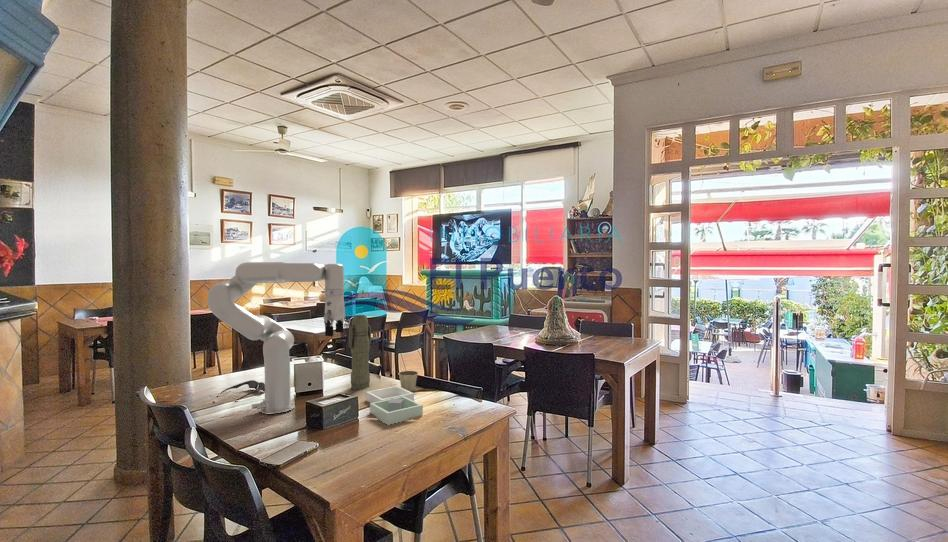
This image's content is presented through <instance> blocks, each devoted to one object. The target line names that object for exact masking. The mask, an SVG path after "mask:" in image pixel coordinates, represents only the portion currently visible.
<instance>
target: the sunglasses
mask: <svg viewBox="0 0 948 542" xmlns="http://www.w3.org/2000/svg"><path fill="white" fill-rule="evenodd" d="M245 385H247V386H248V389H249V388H255V389H256V390H251V392H248V393H246V394H244V395H242V396H240V397H239V398H237V399H236V400H239V399H240V400H241V399H243V398H246V397H247V396H250V395H253V394H258V393H259V392H260V390H263V391H264V392H265V382H261V381H260V382H259V381H257V380H254V379H252V380H246V381H244V382H240V383H238V384H235V385H232V386H230V387H227V388H226V389H224V390H222V391H221V392H220V393H219V394H221V395H222V394H223V393H225V392H226V391H229V390H233V389H238V388H240V387H242V386H245ZM240 400H239V401H240Z"/></svg>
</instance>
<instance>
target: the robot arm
mask: <svg viewBox="0 0 948 542" xmlns="http://www.w3.org/2000/svg"><path fill="white" fill-rule="evenodd" d="M234 274H235V275H234V276H232V278H230V279H229V280H228V281H222V282H221V281H220V282H217V283H215V284H214V285H212V286H211V287H210V288H209V290H208V293H207V296H206V297H207V298H206V300H207V306H208V308H209V310H210V312H211V313H212V314H213V315H214V316H215V317H216V318H217V319H219V320H220V321H222V322H223V323H225V324H226V325H228V326H229V327H231V328H232V329H234V330H235V332H238V333H240V335H242V336H243V337H245V338H246V339H248V340H251V341H258V340H260V341H262V342H263V344H262V354H263V362H264V363H263V364H264V384H265V391H264V399H262V401H261V402H258V403H257V402H256V403H251V409H252V410H254V409H256V410H260V413H261V412H263V413H280V412H284V411H287V410H290V409H292V408H294V407H295V404H294V403H292V402H291V359H290V357H291V356H290V349H292V347H293V346H294V344H295V337H294V334H293V333H292V332H291V331H289V329H287V328H285V326H283V325H281V324H280V323H278V322H277V321H275V320H273V319H272V318H271V317H269V316H267V315H264V314H263V315H262V314H258V315H255V314H253V313H251V312H250V311H249V310H247V309H246V308H244V307H243V306H241V305H239V304H237V303H236V302H235V301H238V300H240V299H241V298H242V297H243V296H244V295H245V294H247V293H248V292H249V291H250V290H251V289H253V288H254V287H255V286H256V285H257V284H282V283H306V282H307V283H315V282H319V281H324V298H325V300H324V301H325V303H324V315H323V323H324V331H325V332H324V334H325V335H324V336H326V337H333V336H334V325H333V324H334V323H335V333H344V321H345V320H344V319H346V307H345V306H346V305H345V298H344V297H345V295H344V293H345V290H344V288H345V287H344V286H345V285H344V284H345V283H344V282H345V281H344V280H345V279H344V278H345V277H344V276H345V275H344V265H343V264H341V263H327V264H325V263H319V262H318V263H317V262H315V263H314V262H302V263H300V262H299V263H298V262H297V263H296V262H295V263H294V262H281V261H267V262H266V261H265V262H263V261H259V262H255V261H249V262H243V263H240V264H238V266H237V267H236V269H235V273H234ZM334 321H335V322H334ZM294 409H295V408H294ZM263 413H262V414H263Z"/></svg>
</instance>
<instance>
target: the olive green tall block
mask: <svg viewBox="0 0 948 542" xmlns="http://www.w3.org/2000/svg"><path fill="white" fill-rule="evenodd" d="M371 344H372V326H371V325H370V324H369V320H368V317H367V315H365V314H355V315H353V317H352V321H351V325H350V326H349V328H348V348H350V353H351V373H350V389H351V390H352V389H354V390H353V391H359V390H361V389H367V388H370V387H371V386H370V381H371V378H370V377H371V374H370V370H369V368H370V367H369V365H370V364H369V363H370V362H369V360H370V359H369V356H370V345H371Z"/></svg>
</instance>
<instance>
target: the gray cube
mask: <svg viewBox="0 0 948 542" xmlns="http://www.w3.org/2000/svg"><path fill="white" fill-rule="evenodd" d="M400 409H404V399H391V400H390V401H389V402H388V412H391V411H396V410H400Z"/></svg>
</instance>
